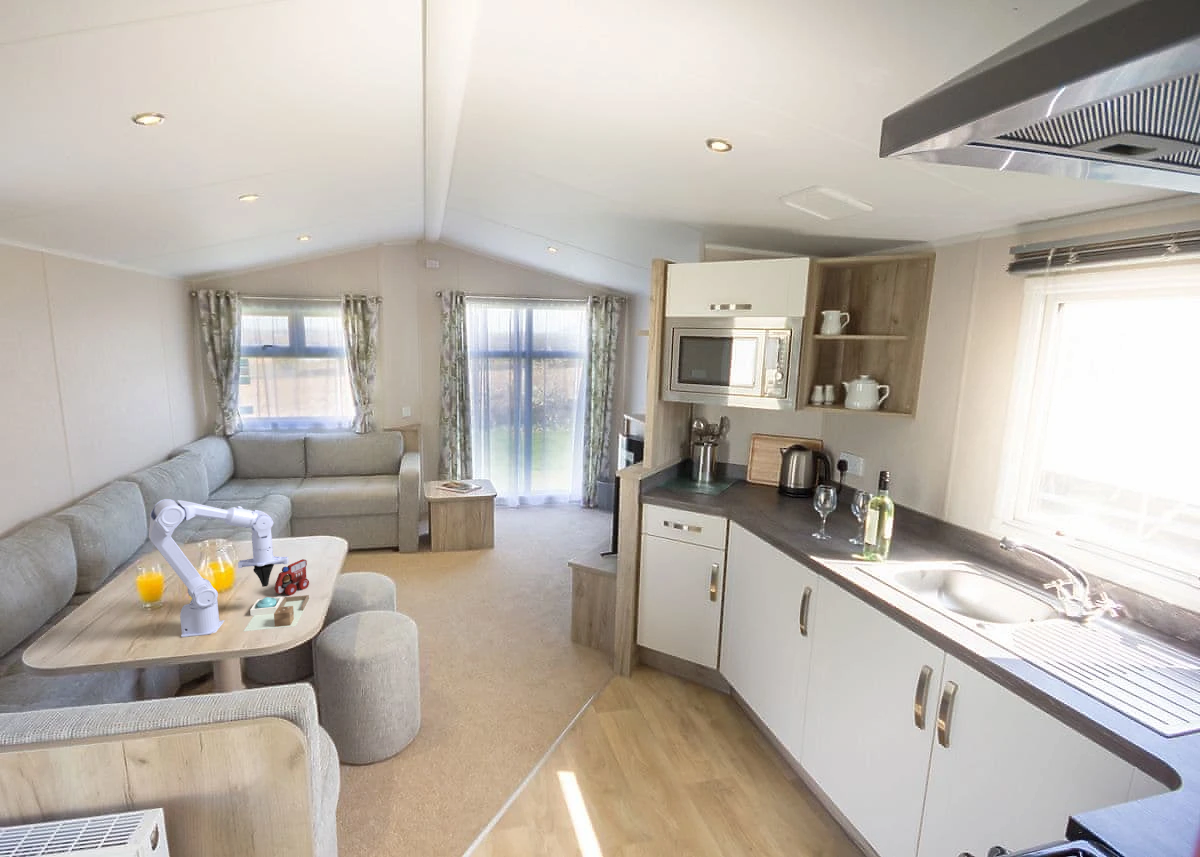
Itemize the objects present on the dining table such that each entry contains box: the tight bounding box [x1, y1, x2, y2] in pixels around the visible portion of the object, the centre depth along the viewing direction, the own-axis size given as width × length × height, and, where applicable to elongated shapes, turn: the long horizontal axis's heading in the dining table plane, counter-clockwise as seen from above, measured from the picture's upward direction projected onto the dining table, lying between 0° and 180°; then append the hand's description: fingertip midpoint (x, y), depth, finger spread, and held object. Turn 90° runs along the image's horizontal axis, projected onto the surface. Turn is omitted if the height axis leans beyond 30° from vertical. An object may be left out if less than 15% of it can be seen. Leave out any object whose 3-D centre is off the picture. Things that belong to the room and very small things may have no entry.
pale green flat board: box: [243, 594, 311, 632], centre depth 186 cm, size 16×20×3 cm
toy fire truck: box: [274, 559, 310, 596], centre depth 203 cm, size 7×12×10 cm, turn 157°
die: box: [274, 606, 294, 627], centre depth 180 cm, size 5×4×5 cm
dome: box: [257, 596, 277, 608], centre depth 188 cm, size 6×6×4 cm
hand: (265, 585), depth 187 cm, fingers closed
